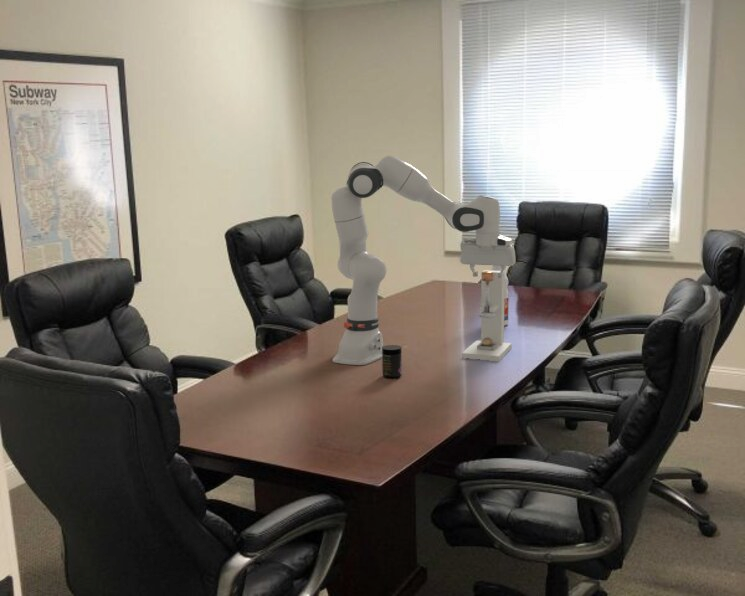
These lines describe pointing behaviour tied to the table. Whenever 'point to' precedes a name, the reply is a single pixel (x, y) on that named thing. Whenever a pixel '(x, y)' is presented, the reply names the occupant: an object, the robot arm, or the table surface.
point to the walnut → (487, 342)
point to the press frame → (491, 324)
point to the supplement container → (391, 361)
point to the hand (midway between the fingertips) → (487, 276)
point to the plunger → (487, 294)
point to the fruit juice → (506, 295)
